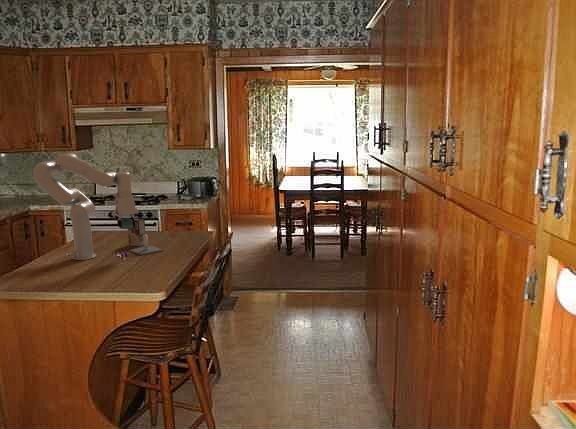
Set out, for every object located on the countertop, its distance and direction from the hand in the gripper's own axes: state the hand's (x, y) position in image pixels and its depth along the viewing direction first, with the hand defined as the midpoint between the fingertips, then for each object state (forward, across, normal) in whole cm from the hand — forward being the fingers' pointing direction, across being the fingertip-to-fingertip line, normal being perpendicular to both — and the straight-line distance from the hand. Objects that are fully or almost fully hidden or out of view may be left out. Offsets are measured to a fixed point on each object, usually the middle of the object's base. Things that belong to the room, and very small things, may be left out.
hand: (126, 225), depth 278 cm
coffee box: (+18, +18, +24) cm, 35 cm away
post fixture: (+18, +14, +4) cm, 23 cm away
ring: (+1, 0, 0) cm, 1 cm away
